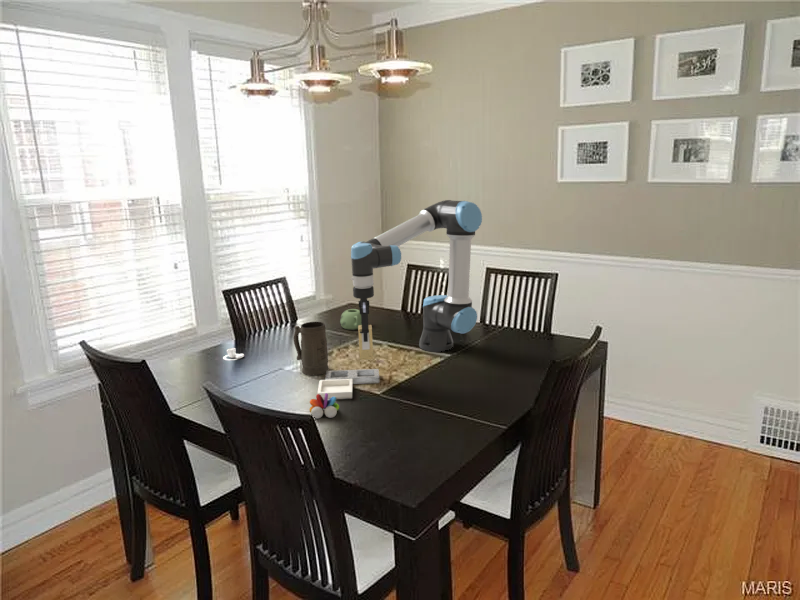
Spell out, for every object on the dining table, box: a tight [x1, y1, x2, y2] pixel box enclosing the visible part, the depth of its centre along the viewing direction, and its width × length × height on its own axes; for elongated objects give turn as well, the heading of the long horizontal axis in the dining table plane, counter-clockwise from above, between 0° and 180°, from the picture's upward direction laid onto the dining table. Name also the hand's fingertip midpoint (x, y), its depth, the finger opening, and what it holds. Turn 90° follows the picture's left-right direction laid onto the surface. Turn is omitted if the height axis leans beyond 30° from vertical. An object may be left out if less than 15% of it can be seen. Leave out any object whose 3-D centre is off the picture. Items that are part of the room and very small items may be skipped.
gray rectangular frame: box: [324, 368, 380, 385], centre depth 205 cm, size 20×8×2 cm, turn 94°
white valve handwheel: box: [222, 347, 245, 361], centre depth 230 cm, size 9×8×4 cm
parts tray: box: [316, 379, 354, 400], centre depth 194 cm, size 12×12×2 cm
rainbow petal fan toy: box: [309, 393, 340, 419], centre depth 176 cm, size 8×10×7 cm
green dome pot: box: [339, 308, 362, 331], centre depth 270 cm, size 16×13×9 cm
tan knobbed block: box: [357, 324, 374, 361], centre depth 202 cm, size 5×5×12 cm
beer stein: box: [292, 321, 329, 376], centre depth 213 cm, size 15×10×20 cm
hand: (365, 346), depth 202 cm, fingers closed on tan knobbed block, 5 cm apart
